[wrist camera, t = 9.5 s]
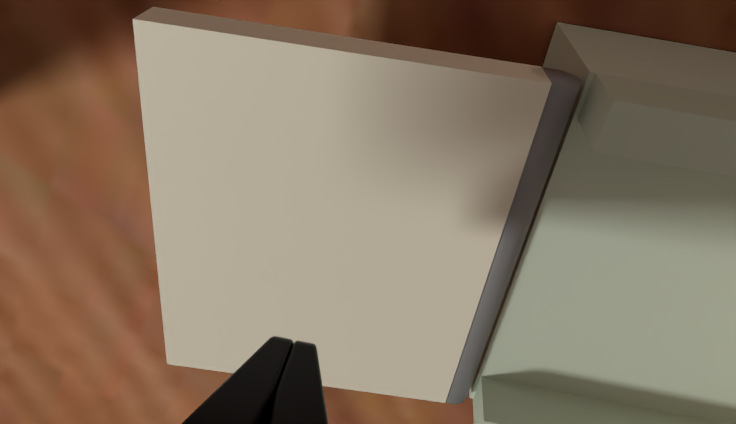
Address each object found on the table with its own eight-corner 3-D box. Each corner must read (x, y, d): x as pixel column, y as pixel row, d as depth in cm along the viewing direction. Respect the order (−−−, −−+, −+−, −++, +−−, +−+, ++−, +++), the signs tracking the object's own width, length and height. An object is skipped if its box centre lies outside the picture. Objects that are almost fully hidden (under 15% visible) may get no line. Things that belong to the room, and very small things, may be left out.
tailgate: (466, 378, 17) (468, 406, 16) (179, 338, 16) (166, 364, 15) (574, 71, 11) (587, 89, 10) (153, 7, 11) (132, 19, 10)
